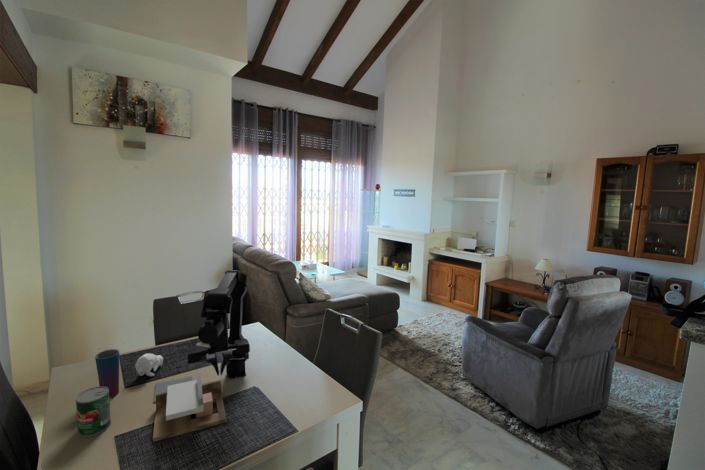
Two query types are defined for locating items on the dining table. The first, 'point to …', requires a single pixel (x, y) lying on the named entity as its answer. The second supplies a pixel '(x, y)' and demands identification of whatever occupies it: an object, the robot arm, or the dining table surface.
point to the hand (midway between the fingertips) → (219, 374)
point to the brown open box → (185, 423)
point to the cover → (184, 399)
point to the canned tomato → (93, 411)
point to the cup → (108, 370)
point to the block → (206, 406)
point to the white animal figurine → (148, 364)
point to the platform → (203, 345)
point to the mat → (164, 385)
